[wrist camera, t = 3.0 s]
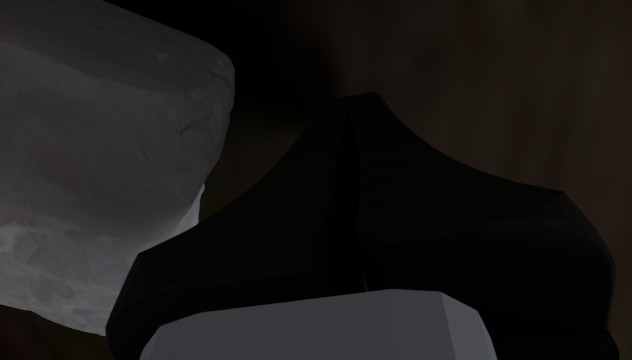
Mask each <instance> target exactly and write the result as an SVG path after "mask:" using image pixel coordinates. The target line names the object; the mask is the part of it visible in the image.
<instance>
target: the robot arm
mask: <svg viewBox="0 0 632 360" xmlns="http://www.w3.org/2000/svg"><path fill="white" fill-rule="evenodd" d="M366 284H367V289H368V292H366ZM614 287H615V262H614V260H613V258H612V256H611V254H610V252H609V250H608V248H607V246H606V244H605V243H604V241H603V239H602V238H601V236H600V235H599V233H598V232H597V230H596V229H595V227H594V226H593V225H592V223H591V222H590V221H589V220H588V219H587V217H586V216H585V215H584V214H583V212H582V211H581V210H580V209H579V208H578V207H577V206H576V205H575V204H574V202H573V201H572V200H571V199H570V198H569V197H568V196H567V194H566V193H565V192H563V191H558V190H553V189H548V188H542V187H537V186H532V185H527V184H522V183H518V182H514V181H511V180H507V179H504V178H500V177H497V176H494V175H491V174H488V173H485V172H482V171H479V170H477V169H475V168H472V167H470V166H468V165H465V164H463V163H461V162H458V161H456V160H454V159H452V158H450V157H448V156H447V155H445V154H443V153H442V152H440V151H438V150H436V149H435V148H433V147H432V146H430V145H429V144H428V143H426V142H425V141H424V140H422V139H421V138H420V137H419V136H417V135H416V134H415V133H414V132H413V131H411V130H410V129H409V128H408V127H407V126H406V125H405V124H404V123H403V122H402V121H401V120H400V119H399V118H398V117H397V116H396V115H395V114H394V113H393V112H392V111H391V109H390V108H389V107H388V106H387V104H386V103H385V102H384V100H383V99H382V97H381V95H380V94H378V93H377V92H371V93H366V94H360V95H355V96H349V97H343V98H338V99H332V100H327V101H323V102H322V103H321V105H320V106H319V108H318V109H317V110H316V112H315V114H314V115H313V117H312V118H311V120H310V121H309V123H308V124H307V126H306V127H305V129H304V130H303V131H302V133H301V134H300V135H299V137H298V138H297V140H296V141H295V142H294V144H293V145H292V146H291V147H290V148H289V150H288V151H287V152H286V153H285V154H284V155H283V157H282V158H281V159H280V160H279V161H278V162H277V163H276V165H275V166H274V167H273V168H272V169H271V170H270V171H269V172H268V173H267V174H265V175H264V176H263V177H262V178H261V179H260V180H259V181H258V182H257V183H256V184H254V185H253V186H252V187H251V188H250V189H248V190H247V191H246V192H244V193H243V194H242V195H240V196H239V197H238V198H236V199H235V200H234V201H232V202H231V203H230V204H228V205H227V206H226V207H224V208H223V209H221V210H220V211H218V212H217V213H215V214H213V215H212V216H210V217H209V218H207V219H205V220H204V221H202V222H200V223H199V224H197V225H195V226H193V227H192V228H190V229H188V230H186V231H184V232H182V233H180V234H178V235H176V236H174V237H172V238H170V239H168V240H166V241H164V242H162V243H159V244H157V245H155V246H153V247H151V248H149V249H147V250H144V251H142V252H140V253H138V255H137V257H136V258H135V260H134V262H133V264H132V266H131V268H130V271H129V273H128V275H127V277H126V279H125V281H124V284H123V286H122V288H121V290H120V293H119V295H118V297H117V300H116V302H115V304H114V306H113V309H112V311H111V313H110V316H109V319H108V321H107V324H106V327H105V333H106V344H107V346H108V348H109V350H110V352H111V354H112V356H113V358H114V360H619V356H620V355H619V350H618V347H617V345H616V344H615V342H614V340H613V338H612V336H611V334H610V332H609V330H608V323H609V317H610V311H611V305H612V299H613V293H614Z"/></svg>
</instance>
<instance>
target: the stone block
mask: <svg viewBox="0 0 632 360" xmlns="http://www.w3.org/2000/svg"><path fill="white" fill-rule="evenodd" d="M234 79H235V69H234V66H233V64H232V62H231V60H230V58H229V57H228V56H227V55H226V54H224V53H223V52H221V51H220V50H219V49H217V48H216V47H215V46H213V45H211V44H209V43H207V42H205V41H203V40H200V39H198V38H196V37H194V36H192V35H189V34H187V33H184V32H182V31H179V30H177V29H174V28H172V27H169V26H167V25H164V24H162V23H159V22H156V21H154V20H152V19H149V18H147V17H144V16H141V15H139V14H136V13H134V12H132V11H129V10H126V9H124V8H121V7H118V6H116V5H113V4H110V3H108V2H105V1H103V0H0V304H3V305H7V306H11V307H15V308H19V309H23V310H31V311H33V312H35V313H37V314H39V315H41V316H42V317H44V318H46V319H48V320H51V321H54V322H56V323H59V324H62V325H65V326H68V327H71V328H74V329H78V330H82V331H85V332H91V333H97V334H99V335H102V336H106V333H105V327H106V324H107V321H108V319H109V316H110V313H111V311H112V309H113V306H114V304H115V302H116V300H117V297H118V295H119V293H120V290H121V288H122V286H123V284H124V281H125V279H126V277H127V275H128V273H129V271H130V268H131V266H132V264H133V262H134V260H135V258H136V257H137V255H138V253H140V252H142V251H144V250H147V249H149V248H151V247H153V246H155V245H157V244H159V243H162V242H164V241H166V240H168V239H170V238H172V237H174V236H176V235H178V234H180V233H182V232H184V231H186V230H188V229H190V228H192V227H193V226H195V225H197V224H198V213H199V205H200V198H201V194H202V192H203V191H204V181H205V179H206V178H207V176H208V174H209V173H210V171H211V170H212V168H213V167H214V165H215V164H216V162H217V161H218V160H219V157H220V154H221V151H222V148H223V144H224V141H225V137H226V132H227V128H228V125H229V122H230V111H231V109H232V107H233V104H234V94H235V82H234Z"/></svg>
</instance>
